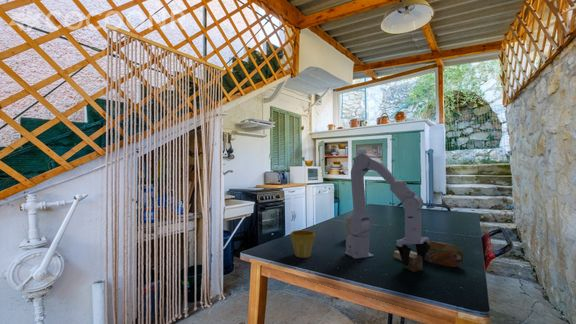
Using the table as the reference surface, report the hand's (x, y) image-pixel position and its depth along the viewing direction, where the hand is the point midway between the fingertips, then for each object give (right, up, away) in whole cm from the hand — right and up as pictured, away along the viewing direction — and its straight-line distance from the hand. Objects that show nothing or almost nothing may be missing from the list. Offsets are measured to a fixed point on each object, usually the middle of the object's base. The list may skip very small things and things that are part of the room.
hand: (413, 263), depth 102 cm
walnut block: (0, -2, 0) cm, 2 cm away
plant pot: (-41, -2, +14) cm, 43 cm away
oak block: (+2, -2, +11) cm, 11 cm away
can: (-14, -3, +38) cm, 40 cm away
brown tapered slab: (+14, -2, +6) cm, 15 cm away
